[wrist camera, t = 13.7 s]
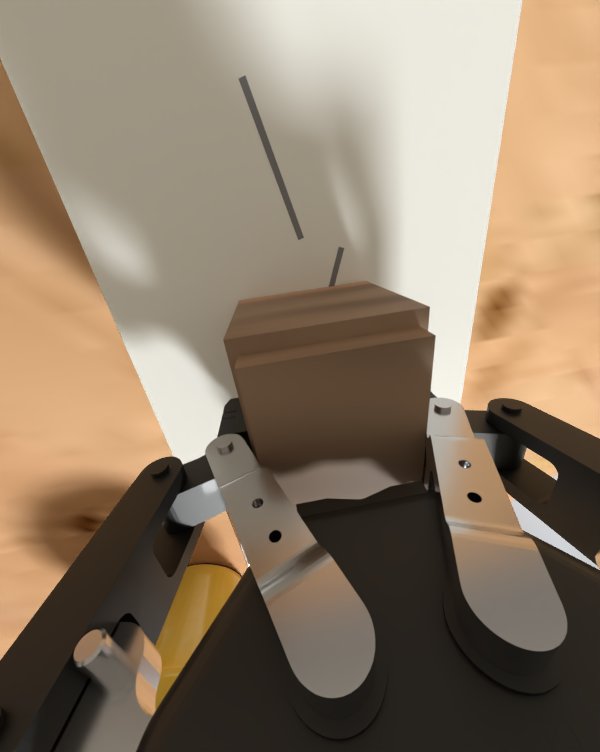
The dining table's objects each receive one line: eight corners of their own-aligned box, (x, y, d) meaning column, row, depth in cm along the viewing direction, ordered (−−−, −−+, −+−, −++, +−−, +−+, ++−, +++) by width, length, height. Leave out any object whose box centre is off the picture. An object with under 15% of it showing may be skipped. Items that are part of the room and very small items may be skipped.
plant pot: (138, 623, 24) (67, 839, 16) (131, 547, 20) (27, 785, 11) (258, 618, 26) (255, 809, 17) (275, 548, 22) (282, 752, 13)
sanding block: (239, 300, 12) (218, 351, 6) (366, 281, 12) (447, 313, 7) (274, 460, 16) (280, 573, 10) (369, 443, 16) (422, 545, 11)
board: (-8, -32, 8) (-64, -88, 7) (499, -81, 9) (543, -140, 8) (192, 464, 17) (185, 484, 16) (440, 419, 18) (455, 435, 17)
